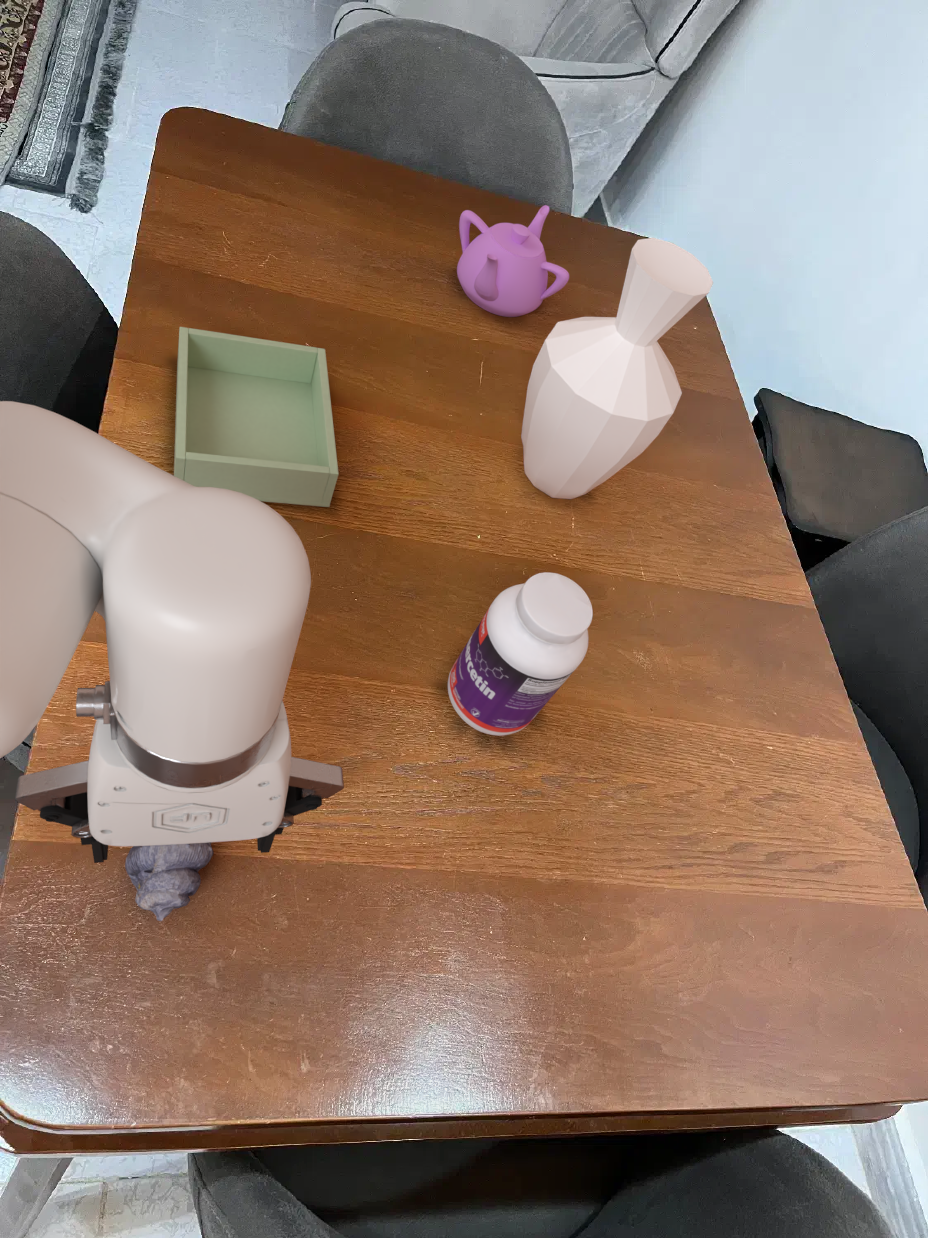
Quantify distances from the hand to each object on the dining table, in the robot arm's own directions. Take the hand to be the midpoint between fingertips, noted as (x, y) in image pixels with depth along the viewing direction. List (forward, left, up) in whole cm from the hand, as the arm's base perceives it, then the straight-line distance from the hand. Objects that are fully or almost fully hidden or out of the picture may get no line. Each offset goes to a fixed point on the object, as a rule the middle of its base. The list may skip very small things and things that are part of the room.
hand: (184, 834), depth 53 cm
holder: (+6, +40, -4) cm, 41 cm away
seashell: (0, 0, -4) cm, 4 cm away
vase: (+38, +40, -4) cm, 55 cm away
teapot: (+37, +70, -4) cm, 79 cm away
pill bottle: (+25, +12, -4) cm, 28 cm away
